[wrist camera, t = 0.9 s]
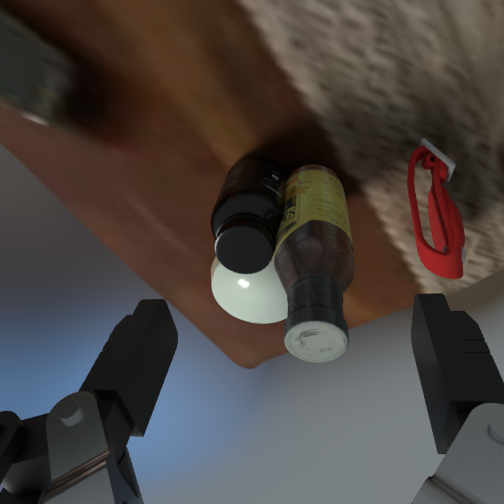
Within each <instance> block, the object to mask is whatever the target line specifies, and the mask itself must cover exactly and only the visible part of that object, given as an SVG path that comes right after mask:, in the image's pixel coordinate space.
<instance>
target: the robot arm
mask: <svg viewBox="0 0 504 504" xmlns="http://www.w3.org/2000/svg"><path fill="white" fill-rule="evenodd" d="M411 341H412V347H413V353H414V357H415V361H416V365H417V369H418V373H419V377H420V381H421V386H422V390H423V394H424V398H425V402H426V406H427V411H428V415H429V419H430V423H431V427H432V431H433V435H434V439H435V444H436V448H437V452H438V454H446V455H445V457H444V458H443V460H442V462H441V463H440V465H439V467H438V468H437V470H436V472H435V473H434V475H433V476H432V477H428V478H427V479H426V481H425V482H424V483H423V485H422V486H421V488H420V490H419V491H418V493H417V495H416V496H415V498H414V500H413V501H412V503H411V504H504V382H503V380H502V378H501V376H500V373H499V371H498V369H497V366H496V364H495V362H494V359H493V357H492V355H490V351H489V348H488V346H487V344H486V342H485V340H484V337H483V334H482V332H481V330H480V328H479V325H478V324H477V323H476V322H475V321H474V320H473V319H472V318H471V317H470V316H469V315H468V314H467V313H466V312H465V311H450V309H449V306H448V303H447V301H446V298H445V296H444V294H442V293H434V294H416V295H415V298H414V307H413V317H412V327H411ZM177 344H178V333H177V329H176V326H175V324H174V321H173V318H172V316H171V313H170V311H169V308H168V305H167V303H166V301H165V300H164V299H151V300H141V301H140V302H139V304H138V305H137V307H136V309H135V311H134V313H133V315H127V316H126V317H125V318H123V319H122V320H121V321H120V322H119V323H118V324H117V325H116V326H115V328H114V330H113V332H112V333H111V335H110V337H109V338H108V341H107V342H106V344H105V345H104V347H103V349H102V350H103V351H102V352H101V353H100V354H99V356H98V358H97V360H96V361H95V363H94V365H93V367H92V368H91V370H90V372H89V374H88V375H87V377H86V379H85V381H84V382H83V384H82V386H81V388H80V389H79V391H78V392H75V393H72V394H70V395H68V396H66V397H64V398H63V399H61V400H60V401H59V402H58V403H57V404H56V405H55V406H54V407H53V408H52V410H51V411H50V413H47V414H43V415H40V416H36V417H32V418H29V419H25V420H21V419H20V418H19V417H18V416H17V415H16V413H14V412H11V411H2V412H0V485H2V486H3V489H2V491H1V492H0V504H144V502H143V499H142V496H141V492H140V489H139V485H138V483H137V479H136V475H135V472H134V468H133V465H132V462H131V458H130V455H129V451H128V449H127V447H126V445H127V443H128V440H129V437H130V436H138V437H139V436H140V437H143V436H144V434H145V431H146V428H147V426H148V423H149V420H150V418H151V415H152V412H153V410H154V407H155V404H156V402H157V399H158V396H159V394H160V391H161V388H162V386H163V383H164V380H165V377H166V375H167V372H168V370H169V367H170V364H171V362H172V359H173V356H174V354H175V350H176V348H177Z"/></svg>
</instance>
